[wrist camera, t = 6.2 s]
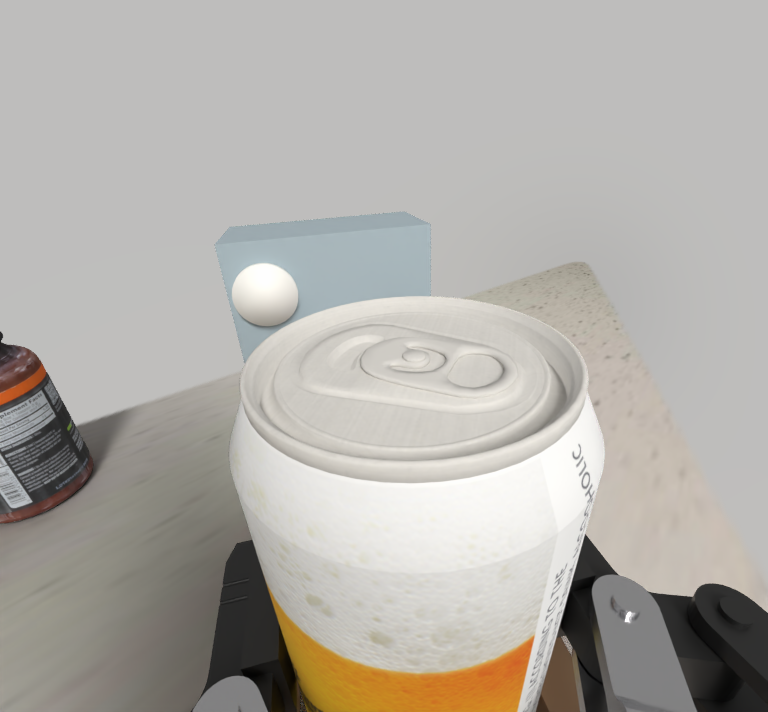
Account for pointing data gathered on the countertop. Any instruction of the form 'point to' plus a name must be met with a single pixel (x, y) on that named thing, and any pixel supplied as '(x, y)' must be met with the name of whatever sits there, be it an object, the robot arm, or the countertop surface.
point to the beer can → (417, 499)
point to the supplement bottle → (35, 439)
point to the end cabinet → (319, 268)
